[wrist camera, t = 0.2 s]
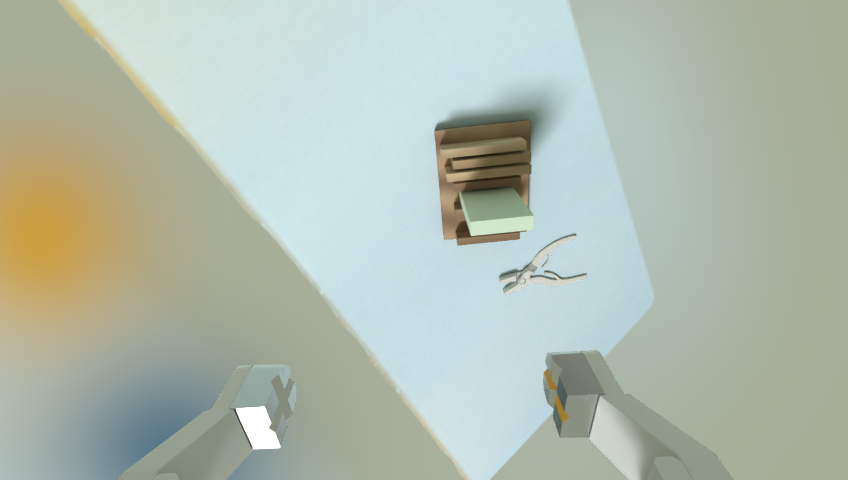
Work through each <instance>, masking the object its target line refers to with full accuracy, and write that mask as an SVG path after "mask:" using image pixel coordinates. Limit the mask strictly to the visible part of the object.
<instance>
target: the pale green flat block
mask: <svg viewBox="0 0 848 480" xmlns="http://www.w3.org/2000/svg"><path fill="white" fill-rule="evenodd" d="M459 199H460V202H461V206H462V209H463V212H464V215H465V218H466V222H467V225H468V228H469V231H470V235H471V236H476V235H486V234H496V233H506V232H516V231H525V230H533V223H534V215H533V214H532V212H531V211H530V210H529V208H528V207H527V205H526V204H525V203H524V201H523V200H522V199H521V197H520V196H519V195H518V193H517V192H516V190H515V189H514V188H513V186H505V187H495V188H486V189H476V190H467V191H459Z"/></svg>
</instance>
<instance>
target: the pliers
mask: <svg viewBox="0 0 848 480" xmlns="http://www.w3.org/2000/svg"><path fill="white" fill-rule="evenodd" d="M575 238H576V236H575V235H571V236H567V237H564V238H561V239H559V240H557V241H555V242H553V243H551V244H549V245H548V246H546V247H545V248H543V249H542V250H541V251H540V252H539V253H538V254H537V255H536V256H535V257H534V259H533V260H532V262H531V263H530V264H529V265H528V266H527V267H526V268H525V269H524V270H523V271H519V272H514V273H511V274H508V275H505V276H501V277H499V281H500V283H507V282H514V283H512V284H510V285H509V286H507V287H506V288H504V289H503V291H504V294H505V295H508V294H510V293H513V292H515V291H518V290H520V289H522V288H524V287H526V286H527V285H529V284H530V283H539V284H542V285H545V286H562V285H567V284H571V283H574V282H577V281H580V280H582V279H584V278H586V274H584V275H580V276H576V277H571V278H565V279H561V278H559V277H558V276H557V275H555V274H553V273H550V272H544V274H549V275H552V276H554V277H555V278H556V279H549V278H546V277H542V276H536V277H530V275H531V274H533V273H534V272H535V271H536V269H537V267H538V266H539V264H540V263H541V261H542V260H543V259H544V257H545V256H546V255H548V258H547V261H546V262H545V263H544V264H543V266H542V268H544V267H545V266H546V265H547V264H548V262H549V260H550V258H551V254H552V251H553V250H554V249H556V248H557V247H559V246H561V245H562V244H564V243H566V242H568V241H570V240H572V239H575ZM516 280H517V281H516Z"/></svg>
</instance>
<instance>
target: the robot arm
mask: <svg viewBox="0 0 848 480" xmlns="http://www.w3.org/2000/svg"><path fill="white" fill-rule="evenodd" d="M545 362H546V365H547V368H548V369H547V370H546V371H545V372H544V377H543V384H544V392H545V396H546V399H547V402H548V404H549V405H550V406H551V407H553V408H554V411H553V420H554V422H555V425H556V428H557V431H558V434H559V437H560V438H562V437H589V439H590V440H591V441H592V442H593V443H594V444H595V445H596V446H597V447H598V448H599V449H600V450H601V451H602V452H603V453H604V454H605V455H606V456H607V458H609V459H610V461H611V462H613V464H615V466H616V467H617V468H618V469H619V470H620V471H621V472H622V473H623V474H624V475H625V476H626V477H627V478H628V479H629V480H734V479H733V478H732V477H731V475H730V474H729V472H728V471H727V469H726V468H725V467H724V465H723V464H722V463H721V461H720V460H719V458H718V457H717V455H716V454H715V453H713V452H712V451H711V450H709V449H708V448H706V447H705V446H703V445H702V444H700V443H699V442H698V441H696V440H695V439H693V438H692V437H690V436H689V435H688V434H686V433H685V432H683V431H682V430H680V429H679V428H677V427H676V426H675V425H673V424H672V423H670V422H669V421H667V420H666V419H664V418H663V417H662V416H660V415H659V414H657V413H656V412H654V411H653V410H652V409H650V408H649V407H647V406H646V405H644V404H643V403H641V402H640V401H639V400H637V399H636V398H634V397H633V396H631V395H630V394H624V393H623V391H622V389H621V388H620V386H619V384H618V382H617V381H616V379H615V377H614V376H613V374H612V372H611V370H610V369H609V367H608V365H607V364H606V362H605V360H604V358H603V357H602V355H601V353H600V352H599V351H597V350H594V351H573V352H554V353H548V354H547V355H546V361H545ZM290 374H291V370H290V368H289V365H286V364H275V365H274V364H272V365H271V364H270V365H239V366H238V367H237V368H236V369H235V370H234V372H233V373H232V375H231V377H230V378H229V380H228V382H227V383H226V386H225V387H224V388H223V390H222V392H221V394H220V395H219V397H218V399H217V400H216V402H215V404H214V406H213V407H212V409H211V410H206V411H204V412H203V413H202V414H201V415H199V416H198V417H196V418H195V419H194V420H193V421H191V422H190V423H189V424H187V425H186V426H185V427H183V428H182V429H181V430H179V431H178V432H177V433H175V434H174V435H173V436H171V437H170V438H169V439H167V440H166V441H165V442H163V443H162V444H161V445H159V446H158V447H157V448H155V449H154V450H153V451H151V452H150V453H149V454H147V455H146V456H145V457H144V458H142V459H141V460H139V461H138V462H137V463H135V464H134V465H133V466H132V467H130V468H129V469H127V470H126V471H125V472H123V473H122V475H121V476H120V477H119V479H118V480H226V479H227V478H228V477H229V476H230V475H231V474H232V473H233V472H234V471H235V469H236V468H237V467H238V466H239V465H240V464H241V463H242V462H243V461H244V460H245V459H246V457H247V456H248V455H249V454H250V453H251V452H252V449H262V448H278V447H281V444H282V441H283V439H284V436H285V433H286V430H287V428H288V425H287V423H286V419H287V418H288V417H289V416H290V415H291V414H292V413H293V411H294V408H295V405H296V398H297V391H296V386H295V383H294V382H293V381H292V380H291V379H289V377H290Z"/></svg>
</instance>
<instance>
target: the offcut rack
mask: <svg viewBox="0 0 848 480" xmlns="http://www.w3.org/2000/svg"><path fill="white" fill-rule="evenodd" d="M530 124H531V121H530V120H521V121H512V122H503V123H494V124H485V125H475V126H466V127H457V128H448V129H439V130H435V141H436V153H437V165H438V176H439V188H440V200H441V211H442V223H443V235H444V240H447V239H456V240H457V244H458V245H467V244H477V243H487V242H497V241H507V240H516V239H520V232H525V231H527V230H525V231H516V232H506V233H496V234H486V235H476V236H471V235H470V231H469V228H468V225H467V222H466V218H465V215H464V212H463V209H462V206H461V202H460V199H459V191H467V190H476V189H486V188H495V187H505V186H513V188H514V189H515V190H516V192H517V193H518V195H519V196H520V197H521V199H522V200H523V201H524V203H525V204H526V205H527V207H528V184H529V174H531V165H530V164H529V162H530V160H531V153H530Z"/></svg>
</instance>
